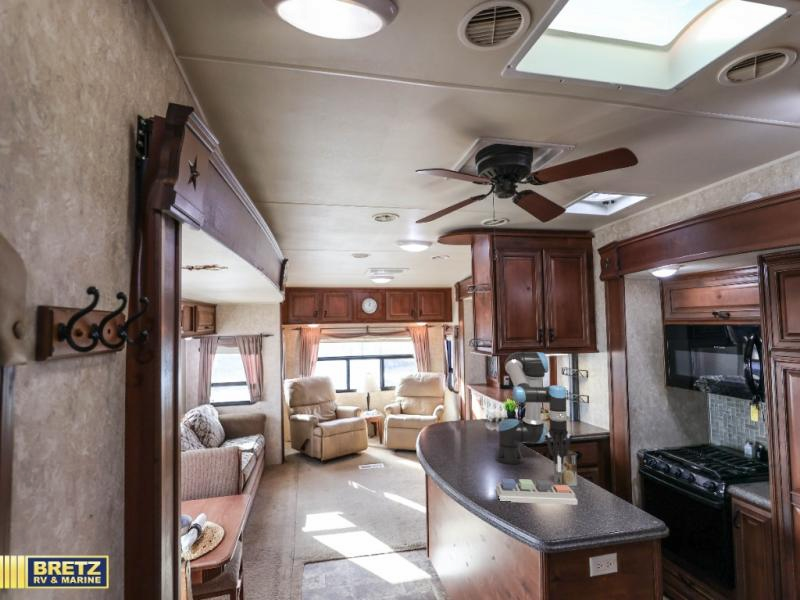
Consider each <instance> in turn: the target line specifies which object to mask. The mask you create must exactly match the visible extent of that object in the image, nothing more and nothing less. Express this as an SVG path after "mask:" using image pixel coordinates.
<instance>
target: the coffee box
mask: <svg viewBox="0 0 800 600" xmlns="http://www.w3.org/2000/svg"><path fill="white" fill-rule="evenodd" d="M563 452H564V449H563ZM558 456H560V455H559V450H558ZM577 463H578V462H577V453H576V452H574V451H572V450H570V449H569V450H568V455H567V456H564V458H563V464H561V472H557V470H556V464H555V463H554V462H553V471H554V472H553V473H554V474H553V475H554V479H553V481H554V485H566V486H569V487H577V486H578V470H577V469H578V465H577Z"/></svg>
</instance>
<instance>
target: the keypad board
mask: <svg viewBox="0 0 800 600" xmlns="http://www.w3.org/2000/svg"><path fill="white" fill-rule="evenodd" d="M551 485H552V490H539V489H538V487H537V486H536V484H534V490H531V489H521V487H520V486H519V483H516V489H505V488H503V486H502V482H498V483H497V485H495V491H497V492H496V495H497V497H498V496H499V497H498V499H500V500H499V502H500V501H511V502H510V503H525V504H526V503H527V504H529V503H530V504H549V505H551V504H552V505H553V504H554V505H573V506H574V505H575V506H576V505H577V506H578V503H579V502H578V499H577V497H576V494H575V492H574V491H573V490H572V488H571V486H567V487H568V488H569V490H570V493H556V492H555V490H554V485H555V484H551Z"/></svg>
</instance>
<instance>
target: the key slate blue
mask: <svg viewBox="0 0 800 600" xmlns="http://www.w3.org/2000/svg"><path fill="white" fill-rule="evenodd" d="M501 483H502V486H503V488H505V489H516V484H517V482H516V481H515V478H501Z"/></svg>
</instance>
